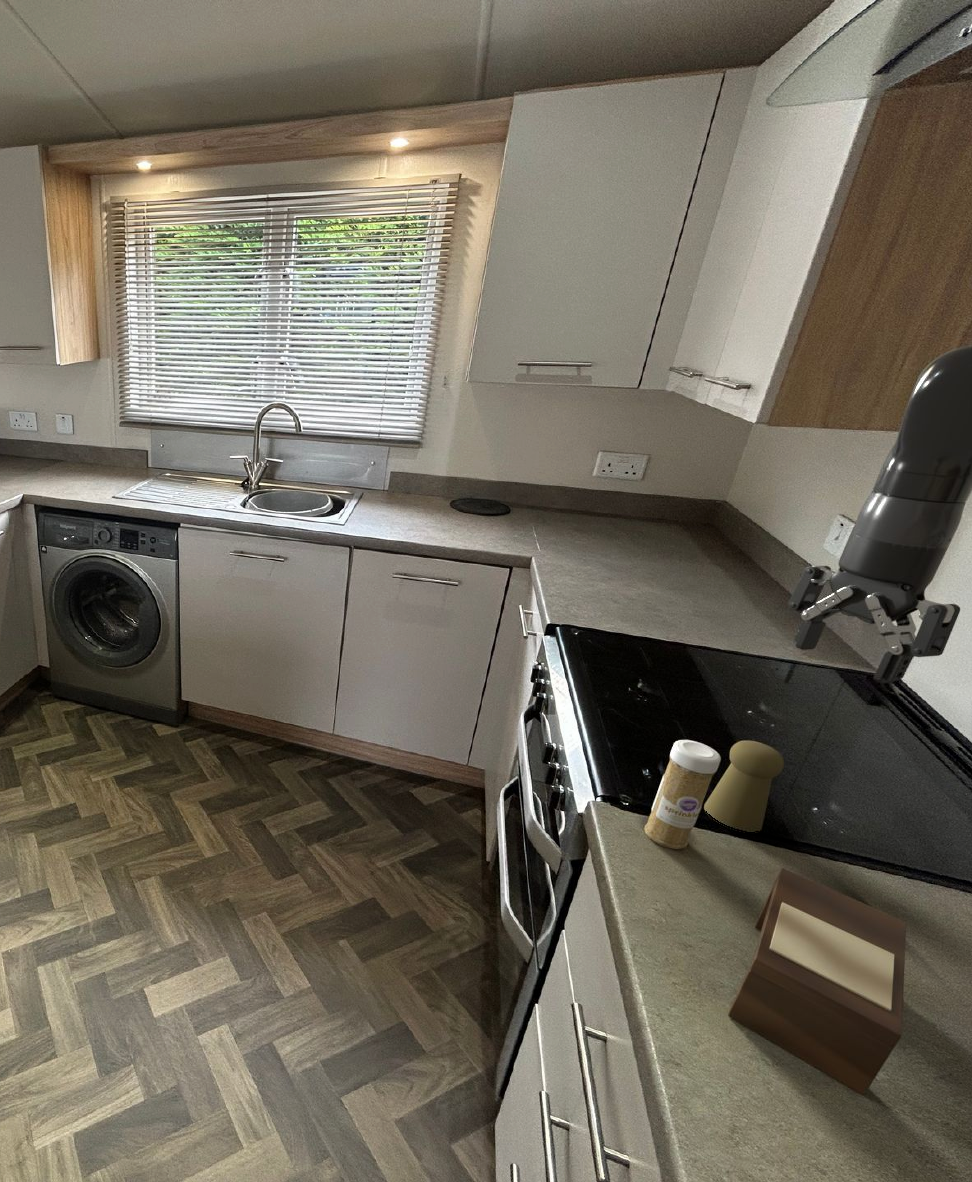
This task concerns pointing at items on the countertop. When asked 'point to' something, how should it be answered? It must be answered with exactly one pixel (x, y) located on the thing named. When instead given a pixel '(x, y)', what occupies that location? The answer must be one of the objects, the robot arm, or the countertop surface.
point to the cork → (745, 786)
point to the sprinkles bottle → (681, 793)
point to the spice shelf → (825, 980)
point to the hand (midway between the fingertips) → (841, 664)
